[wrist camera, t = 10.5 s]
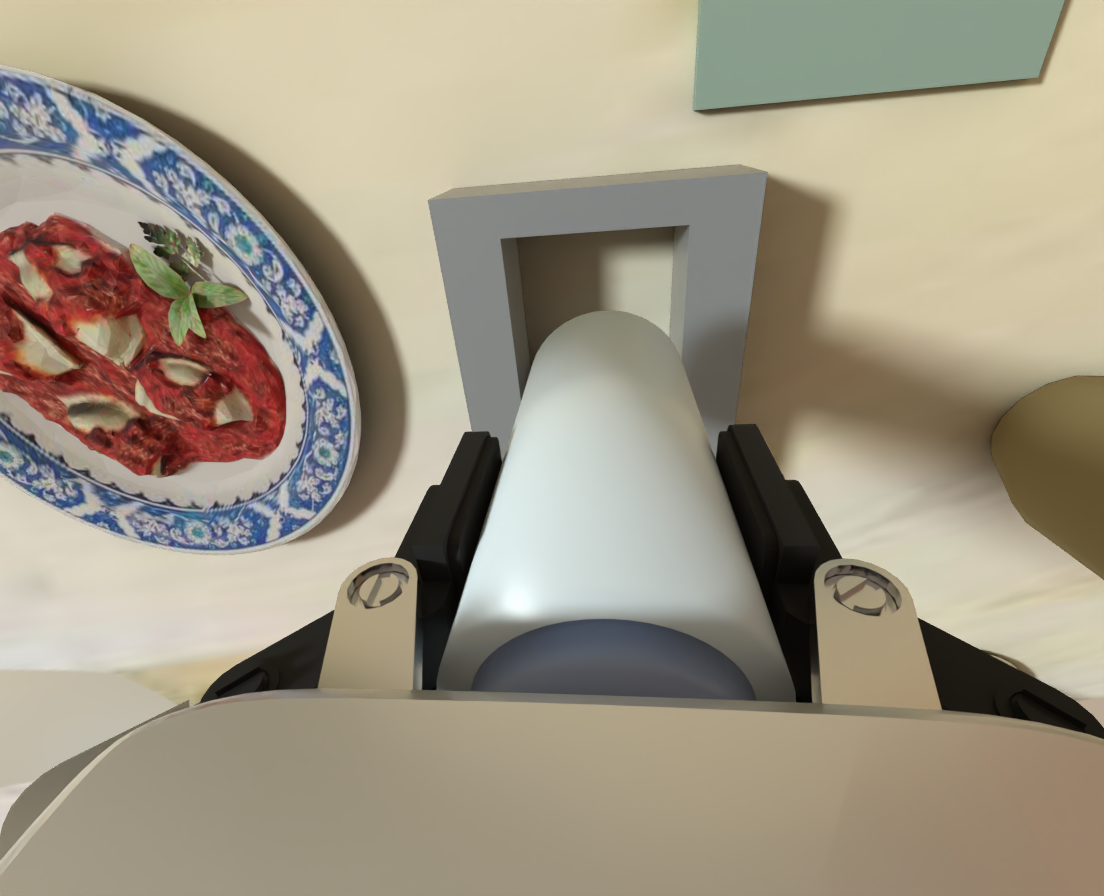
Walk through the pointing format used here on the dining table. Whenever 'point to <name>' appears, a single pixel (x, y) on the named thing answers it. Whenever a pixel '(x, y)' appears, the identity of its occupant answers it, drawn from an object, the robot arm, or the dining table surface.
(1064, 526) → the squeeze bottle
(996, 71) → the mat
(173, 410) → the ceramic plate
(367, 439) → the dining table surface
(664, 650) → the cylinder
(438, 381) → the dining table surface
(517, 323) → the housing
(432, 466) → the dining table surface
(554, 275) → the dining table surface
